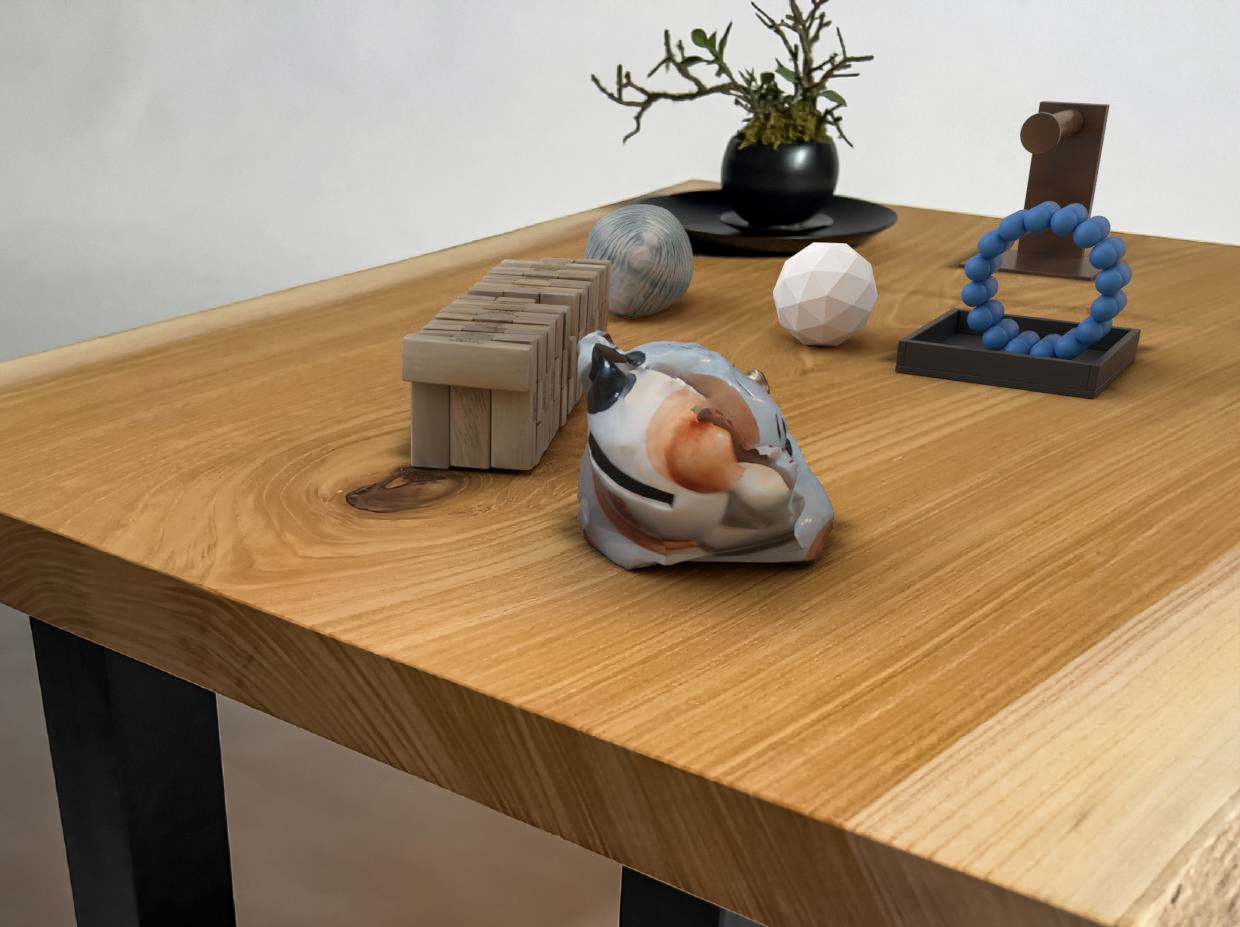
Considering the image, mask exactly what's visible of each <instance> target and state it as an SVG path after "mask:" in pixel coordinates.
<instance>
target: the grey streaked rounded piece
mask: <svg viewBox="0 0 1240 927" xmlns="http://www.w3.org/2000/svg"><path fill="white" fill-rule="evenodd" d="M584 250H585V251H584V252H585V253H584V259H598V260H610V261H611V275H610V293H609V310H608V314H610V315H612V316H615V317H617V318H622V319H623V318H624V319H628V320H634V319H637V318H642V317H648V316H652V315H655V314H657V313H659V312H661V311H663V310H665V309H667V308H668V307H670V306H671V305H673V303H675V302H677V301H678V300H679V299H680V298H681V297H682V296H683V295H684V294H685V293H686V292H687V291H688V289H689V288H690V285H691V283H692V278H693V272H694V255H693V249H692V244H691V242H690V238H689V235H688V233H687V231H686V230H685V228H684V227H683V225H682V223H681V222H680V221H679V219H678V218H677V217H676V216H675V215H674V214H673V213H672V212H671V211H669V210H668V209H666V208H664V207H662V206H658V205H653V204H645V203H644V204H643V203H642V204H639V203H638V204H631V205H626V206H623V207H619V208H617V209H615V210H613V211H611V212H609V213H607V214H605V215H604V216H602V217H601V218H600V219H599V220H598V221H597V222H596V223H595V224H594V225H593V226H592V227H591V229H590V230H589V231H588V234H587V238H586V243H585V249H584Z"/></svg>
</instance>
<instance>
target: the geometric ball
mask: <svg viewBox="0 0 1240 927" xmlns="http://www.w3.org/2000/svg"><path fill="white" fill-rule="evenodd" d="M781 268H782V269H781V270H780V273H779V276H778V278H777V281H776V283H775V286H774V288H773V291H772V296H773V301H774V305H775V309H776V315H777V318H778V323H779V325H780V326H781V327H782V328H783V329H784V330H786V331H787V332H788V333H789V334H790V335H792V336H793V337H794V338H795V339H796V340H798V341H799V342H800V343H801V344H802V345H804V346H817V347H818V346H819V347H820V346H821V347H825V346H826V347H838V346H839V345H841V344H843V343H844V342H846V341H847V340H849V339H850V338H852V337H854V335H855V336H856V335H857V334H858V333H859V332H861V331H863V330H864V329H865V328H866V326H867V324H868V322H869V319H870V317H871V315H872V313H873V310H874V307H875V305H876V303H877V300H878V298H879V294H878V289H877V286H876V281H875V277H874V271H873V266H872V264H871V263H870V262H869V261H868V259H866V258H864V257H863V256H862V255H861V254H860V253H859V252H857V251H856V250H855V249H854V248H852V247H851V246H850V245H849V244H848V243H842V242H840V243H839V242H812V243H811V244H809V245H808V246H806V247H804V248H803V249H801V250H800V251H799V252H797V253H796V254H794V255H792V256H791V257H789V258H788V259H787V260H785V261H784V263H783V266H782V267H781Z"/></svg>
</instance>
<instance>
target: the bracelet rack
mask: <svg viewBox="0 0 1240 927" xmlns="http://www.w3.org/2000/svg"><path fill="white" fill-rule="evenodd" d="M1109 111H1110V104H1107V103H1091V102H1090V103H1088V102H1072V101H1070V102H1068V101H1051V100H1042V101H1040V102H1039V104H1038V112H1036V113H1034V114H1032V115H1030V116H1029V117H1027V118H1026V120H1024V122H1023V123H1022V126H1021V128H1020V132H1019V140H1020V143H1021V146H1022V147H1023V148H1024V150H1026V151H1027V152H1028V153H1030V154H1031V156H1030V157H1031V158H1030V164H1029V170H1028V171H1029V172H1028V178H1027V184H1026V192H1025V198H1024V203H1023V204H1024V205H1023V209H1026V210H1030V209H1032V208H1034V207H1036V206H1038V205H1040V204H1042V203H1044V202H1047V201H1053V202H1055V203H1057V204H1058V205H1059V206H1060V208H1061V209H1062V208H1064V207H1066V206H1068V205H1070V204H1073V203H1078V204H1081V205H1083V206H1084V207H1085V208H1086V210H1087V212H1088V218H1087V220H1088V219H1090V218H1091V217H1092V212H1093V206H1094V200H1095V194H1096V189H1097V182H1098V177H1099V171H1100V164H1101V158H1102V153H1103V147H1104V141H1105V134H1106V128H1107V123H1108V117H1109ZM1073 234H1074V232H1072V233H1070V234H1069V235H1066V236H1059V235H1056V234H1055V233H1054V232H1053V231H1052V229H1051V227H1050V228H1049V229H1047V230H1045V231H1043V232H1041V233H1031V232H1030V233H1029V234H1027V235H1025V236H1023V237H1021V238H1020V239H1018V245H1017V249H1011V248H1010V249H1009V250H1008V251H1006V252H1004V253H1002V254H1000V255H1001V257H1002V265H1001V267H1000V269H999V270H998V271H997V272H998V273H999V272H1000V273H1009V274H1019V275H1029V276H1038V277H1048V278H1057V279H1067V280H1077V281H1087V282H1091V281H1093V280H1094V279H1096V277H1097V276H1098V274H1099V273H1100V272H1101V271H1103V270H1104V269H1103V270H1100V269H1096V268H1094V267H1093V266H1092V265H1091V263H1090V261H1089V256H1085V253H1086V249H1084V248H1080V247H1078V246H1077V245H1076V244H1075V242H1074V239H1073ZM978 254H979V252H977V254H975V255H973V256H971V257H969V258H967V259H965V260H963V261H961V262H959V263H958V265H957V267H958V268H961V269H965V265H966V263H967V261H968V260H969V259H970V258H972V257H974V256H976V255H978Z"/></svg>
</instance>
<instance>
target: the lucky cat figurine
mask: <svg viewBox="0 0 1240 927" xmlns="http://www.w3.org/2000/svg"><path fill="white" fill-rule="evenodd" d="M614 342H615V341H613V339H612V336H611V335H610V333H609V332H608V331H607V332H602V331H600V330H599V331H595V332H593V333H590V334H588V335H587V336H585V337H583V339H581V340H579V341H578V343H577V349H576V350H577V352H578V354H579V358H578V364H577V371H578V376H579V379H580V382H581V384H582V386H583V394H582V395H583V398H584V404H585V405H586V425H587V426H586V427H587V444H586V445H585V448H584V451H583V453H582V455H581V459H580V467H579V474H578V480H577V496H576V498H577V500H578V511H577V515H576V516H577V517H576V520H577V522H578V525H579V529H580V533H581V534H580V535H581V538H582V540H583V541H585V542H587V543H588V544H590V545H591V546H592V547H593V548H595V549H596V550H598V551H599V552H600V553H602V554H603V555H605V557H607V558H608V559H609V560H610V561H612V562H613V563H615V564H617V565H618V566H621V567H623V568H624V569H625V570H634V569H639V568H644V567H649V566H653V565H663V566H670V565H675V564H678V563H681V562H715V563H716V562H725V563H727V562H728V563H730V562H731V563H733V562H734V563H791V564H805V565H806V564H807V565H812V566H813V565H815V564H816V563H817V561H818V560H819V558H820V555H821V554H822V550H823V548H824V546H825V543H826V542H827V540H828V538H829V537H830V534H831V533H832V531H833V529H834V521H835V511H834V507H833V504H832V502H831V499H830V498H829V495H828V494H827V491H826V489H825V487H824V486H823V484H822V482H821V481H820V480H819V478H818V477H817V476H816V475H815V474H814V472H813V471H812V470H811V467H810V466H809V464H808V463H807V461H806V458H805V455H804V454H803V453H802V449H801V446H799V444H798V442H797V441H796V438H795V437H794V436H793V435H792V434H791V432H790V430H789V425H788V422H787V419H786V417H785V416H784V413H783V411H782V410H781V408H780V407H779V405H778V404H777V403H776V401H775V400H774V399H773V398H772V397H771V396H770V393H771V392H770V391H771V389H770V388H771V387H770V385H769V382H768V381H769V380H767V378H766V376H765V374H764V373H763V372H762V371H760V370H759V369H757V368H751V369H748V370H746V371H743V372H742V371H741V370H740V369H739V368H738V367H737V366H736V365H735V363H732V362H730V361H729V360H728V359H727V358H726V357H724V356H723V355H721V353H720V352H717V351H714V350H710V349H707V348H706V347H704V346H702V345H701V344H700V343H698V342H693V341H690V342H686V341H685V342H684V341H674V340H673V341H672V340H657V341H650V342H646V343H643V344H639V345H636V346H634V347H633V348H631V349H630V350H628V351H627V350H623V349H620V348H619V347H618V346H617V345H616V343H614Z"/></svg>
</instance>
